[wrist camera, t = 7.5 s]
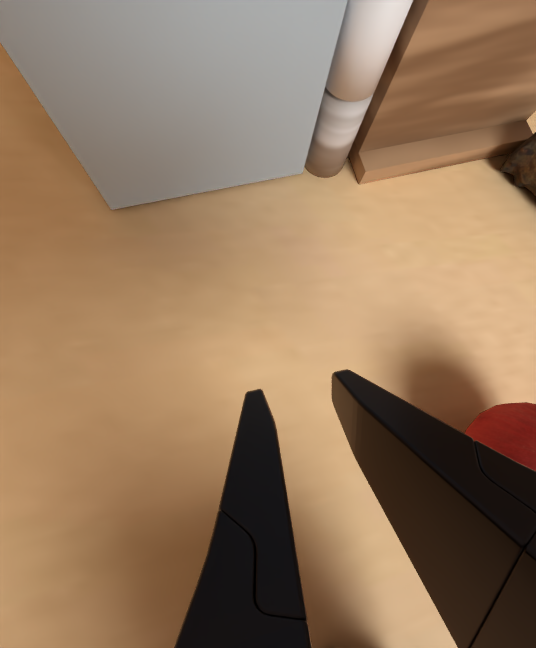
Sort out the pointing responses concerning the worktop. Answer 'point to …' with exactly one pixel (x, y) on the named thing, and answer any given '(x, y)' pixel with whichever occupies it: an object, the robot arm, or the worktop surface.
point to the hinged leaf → (194, 83)
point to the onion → (508, 431)
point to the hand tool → (523, 164)
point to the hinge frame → (437, 94)
